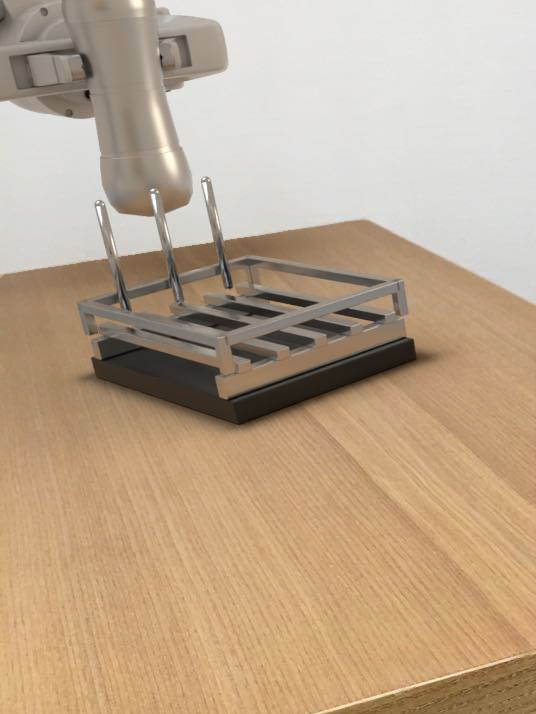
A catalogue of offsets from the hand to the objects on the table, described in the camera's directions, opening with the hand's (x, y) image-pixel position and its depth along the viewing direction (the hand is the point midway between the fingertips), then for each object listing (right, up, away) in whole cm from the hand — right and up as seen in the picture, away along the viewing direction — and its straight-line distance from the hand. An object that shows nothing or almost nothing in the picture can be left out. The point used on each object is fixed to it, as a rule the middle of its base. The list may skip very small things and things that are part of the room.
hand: (123, 62), depth 88 cm
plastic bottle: (+1, -10, +5) cm, 11 cm away
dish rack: (+13, -24, -16) cm, 32 cm away
